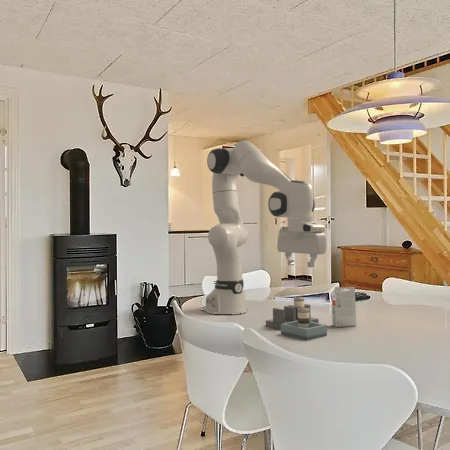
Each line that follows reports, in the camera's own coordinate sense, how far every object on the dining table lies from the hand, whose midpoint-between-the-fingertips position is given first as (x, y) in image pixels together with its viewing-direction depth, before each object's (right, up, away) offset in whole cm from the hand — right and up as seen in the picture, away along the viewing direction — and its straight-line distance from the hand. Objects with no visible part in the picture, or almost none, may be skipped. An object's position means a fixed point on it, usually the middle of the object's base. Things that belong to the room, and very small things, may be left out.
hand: (300, 266), depth 161 cm
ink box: (+18, -23, +10) cm, 31 cm away
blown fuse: (+1, -22, -2) cm, 22 cm away
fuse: (+2, -21, +15) cm, 26 cm away
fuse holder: (-1, -23, +13) cm, 27 cm away
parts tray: (+1, -23, -2) cm, 23 cm away
